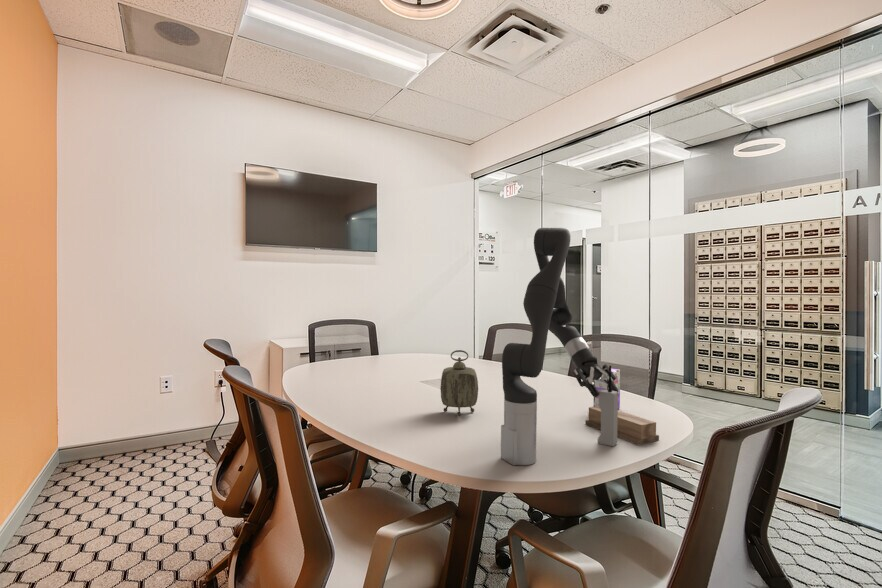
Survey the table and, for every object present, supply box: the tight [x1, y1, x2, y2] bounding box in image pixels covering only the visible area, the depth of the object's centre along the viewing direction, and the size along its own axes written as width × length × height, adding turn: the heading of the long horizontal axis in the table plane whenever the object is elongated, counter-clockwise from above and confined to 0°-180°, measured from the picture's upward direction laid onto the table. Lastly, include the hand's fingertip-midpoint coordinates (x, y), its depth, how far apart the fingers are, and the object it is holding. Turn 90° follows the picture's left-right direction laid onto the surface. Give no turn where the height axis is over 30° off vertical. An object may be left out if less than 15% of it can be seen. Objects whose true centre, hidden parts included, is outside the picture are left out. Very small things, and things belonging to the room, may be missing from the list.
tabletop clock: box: [439, 349, 479, 417], centre depth 162 cm, size 14×9×25 cm, turn 88°
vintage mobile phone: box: [597, 365, 619, 447], centre depth 132 cm, size 4×5×25 cm
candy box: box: [592, 368, 621, 410], centre depth 169 cm, size 14×6×16 cm, turn 137°
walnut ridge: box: [585, 405, 660, 446], centre depth 144 cm, size 10×22×6 cm, turn 27°
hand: (606, 394), depth 133 cm, fingers open, 8 cm apart
